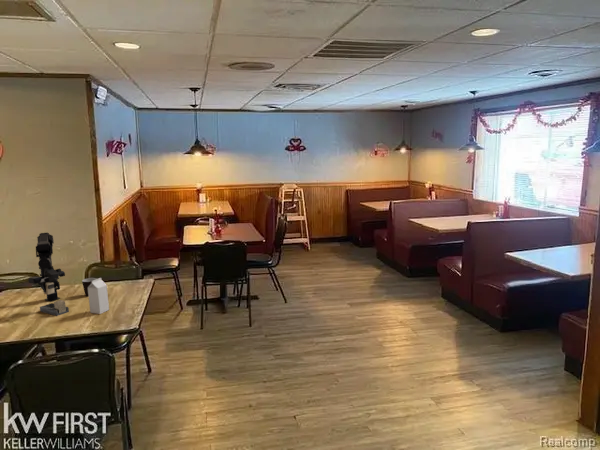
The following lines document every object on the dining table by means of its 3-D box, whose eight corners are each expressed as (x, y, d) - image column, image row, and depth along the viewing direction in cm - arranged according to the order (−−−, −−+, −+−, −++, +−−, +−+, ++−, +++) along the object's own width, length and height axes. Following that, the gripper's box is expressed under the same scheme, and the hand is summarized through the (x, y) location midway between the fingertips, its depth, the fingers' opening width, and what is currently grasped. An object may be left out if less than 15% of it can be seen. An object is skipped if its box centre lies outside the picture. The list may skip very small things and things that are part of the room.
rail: (40, 311, 265) (38, 299, 263) (52, 307, 271) (50, 296, 270) (56, 315, 257) (55, 303, 255) (68, 311, 263) (67, 300, 262)
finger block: (43, 293, 264) (42, 283, 263) (50, 291, 268) (49, 281, 267) (49, 294, 262) (47, 284, 261) (55, 292, 265) (54, 282, 264)
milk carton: (109, 309, 264) (106, 278, 261) (100, 314, 257) (96, 281, 254) (99, 308, 266) (96, 277, 263) (90, 313, 260) (86, 280, 257)
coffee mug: (92, 297, 288) (91, 282, 286) (80, 296, 290) (78, 281, 288) (104, 291, 299) (102, 276, 298) (92, 291, 301) (90, 276, 299)
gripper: (38, 270, 251) (41, 297, 253) (69, 262, 267) (72, 288, 269) (26, 268, 256) (29, 295, 258) (57, 261, 272) (60, 286, 274)
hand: (48, 291), depth 265 cm, fingers closed on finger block, 4 cm apart
